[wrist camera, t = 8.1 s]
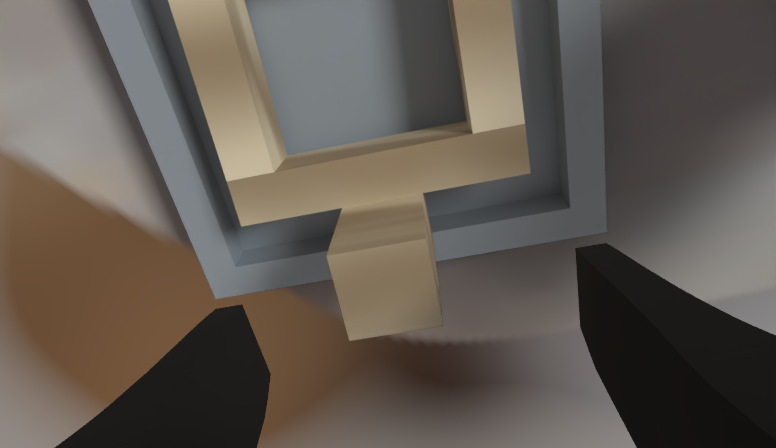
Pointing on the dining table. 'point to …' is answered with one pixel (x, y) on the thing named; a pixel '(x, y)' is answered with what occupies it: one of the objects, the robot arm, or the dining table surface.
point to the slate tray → (370, 123)
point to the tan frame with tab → (361, 158)
